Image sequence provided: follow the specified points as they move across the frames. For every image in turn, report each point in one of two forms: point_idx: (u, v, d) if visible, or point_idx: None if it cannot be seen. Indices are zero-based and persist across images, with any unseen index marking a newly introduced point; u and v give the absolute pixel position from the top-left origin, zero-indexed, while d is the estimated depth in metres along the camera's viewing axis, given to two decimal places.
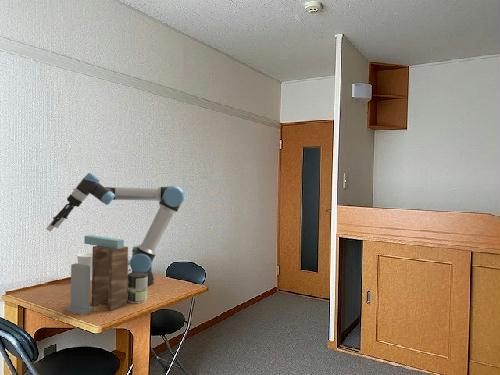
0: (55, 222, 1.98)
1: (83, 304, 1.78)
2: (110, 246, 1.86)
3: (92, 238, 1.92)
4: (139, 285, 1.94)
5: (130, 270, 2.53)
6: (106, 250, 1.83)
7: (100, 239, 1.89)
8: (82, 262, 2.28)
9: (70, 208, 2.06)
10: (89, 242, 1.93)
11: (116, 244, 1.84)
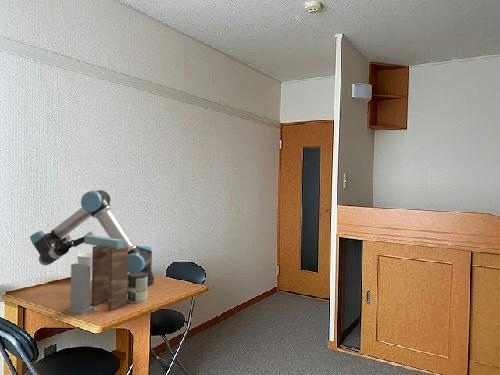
0: (61, 239, 1.98)
1: (83, 304, 1.78)
2: (110, 246, 1.86)
3: (92, 238, 1.92)
4: (139, 285, 1.94)
5: None
6: (106, 250, 1.83)
7: (100, 239, 1.89)
8: (82, 262, 2.28)
9: None
10: (89, 242, 1.93)
11: (116, 244, 1.84)
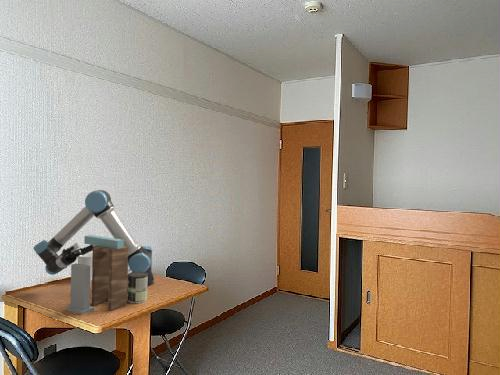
0: (69, 248, 1.90)
1: (83, 304, 1.78)
2: (110, 246, 1.86)
3: (92, 238, 1.92)
4: (139, 285, 1.94)
5: (130, 270, 2.53)
6: (106, 250, 1.83)
7: (100, 239, 1.89)
8: (82, 262, 2.28)
9: None
10: (89, 242, 1.93)
11: (116, 244, 1.84)
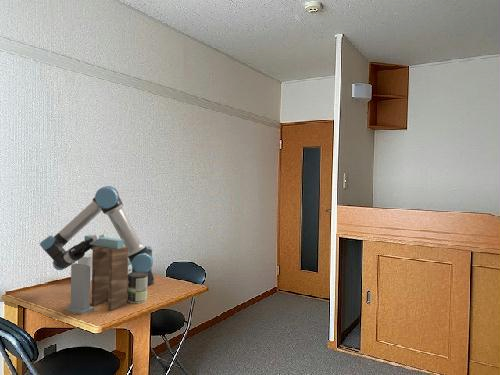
0: (88, 240, 1.91)
1: (83, 304, 1.78)
2: (110, 246, 1.86)
3: None
4: (139, 285, 1.94)
5: (130, 270, 2.53)
6: (106, 250, 1.83)
7: (100, 239, 1.89)
8: (82, 262, 2.28)
9: None
10: None
11: (116, 244, 1.84)
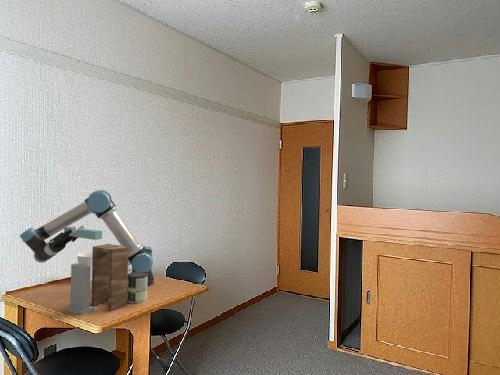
0: (67, 231, 1.88)
1: (83, 304, 1.78)
2: (88, 237, 1.82)
3: None
4: (139, 285, 1.94)
5: (130, 270, 2.53)
6: (106, 250, 1.83)
7: (79, 230, 1.86)
8: (82, 262, 2.28)
9: None
10: None
11: (94, 235, 1.80)
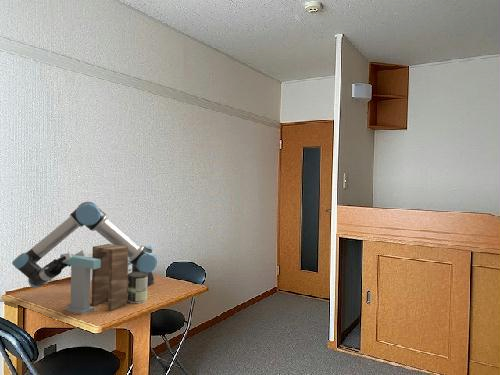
0: (60, 258, 1.80)
1: (83, 304, 1.78)
2: (86, 266, 1.76)
3: None
4: (139, 285, 1.94)
5: (130, 270, 2.53)
6: (106, 250, 1.83)
7: (76, 258, 1.80)
8: None
9: None
10: (65, 261, 1.83)
11: (93, 264, 1.74)
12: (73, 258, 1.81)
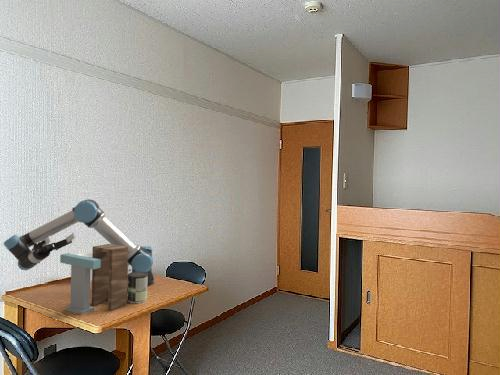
0: (40, 242, 1.83)
1: (83, 304, 1.78)
2: (86, 266, 1.76)
3: (68, 257, 1.82)
4: (139, 285, 1.94)
5: (130, 270, 2.53)
6: (106, 250, 1.83)
7: (76, 258, 1.80)
8: None
9: None
10: (65, 261, 1.83)
11: (93, 264, 1.74)
12: (73, 258, 1.81)
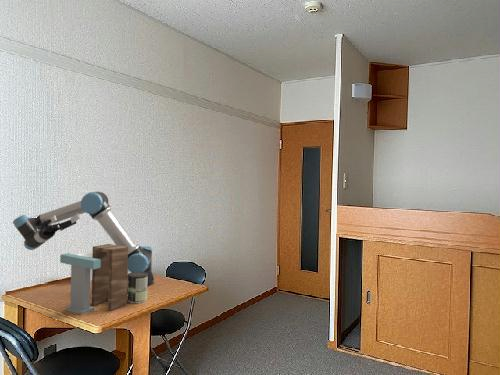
0: (46, 221, 1.91)
1: (83, 304, 1.78)
2: (86, 266, 1.76)
3: (68, 257, 1.82)
4: (139, 285, 1.94)
5: None
6: (106, 250, 1.83)
7: (76, 258, 1.80)
8: None
9: None
10: (65, 261, 1.83)
11: (93, 264, 1.74)
12: (73, 258, 1.81)
